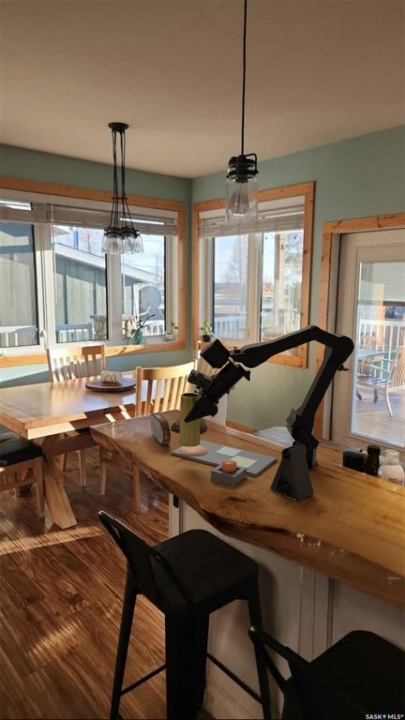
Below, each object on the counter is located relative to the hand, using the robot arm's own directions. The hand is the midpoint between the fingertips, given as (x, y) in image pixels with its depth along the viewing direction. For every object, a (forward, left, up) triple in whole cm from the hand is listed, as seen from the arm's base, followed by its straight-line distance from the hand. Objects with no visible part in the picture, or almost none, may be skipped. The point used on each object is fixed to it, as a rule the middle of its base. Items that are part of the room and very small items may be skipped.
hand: (185, 418), depth 133 cm
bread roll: (+17, -28, -14) cm, 36 cm away
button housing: (-16, +2, -13) cm, 20 cm away
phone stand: (-33, 0, -13) cm, 35 cm away
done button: (-16, +2, -11) cm, 19 cm away
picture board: (-7, -10, -13) cm, 18 cm away
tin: (+17, -11, -14) cm, 25 cm away
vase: (-1, -1, -7) cm, 8 cm away
